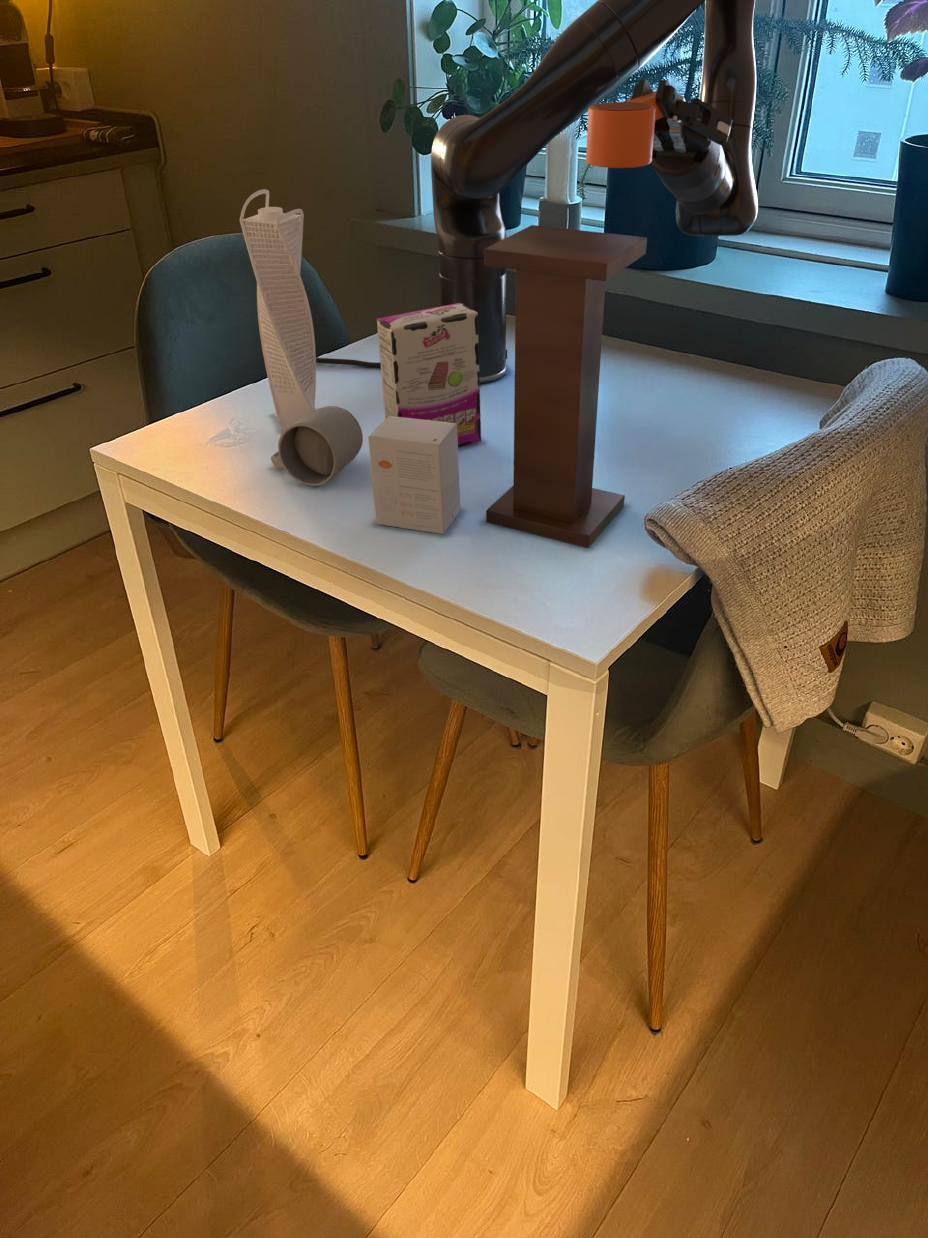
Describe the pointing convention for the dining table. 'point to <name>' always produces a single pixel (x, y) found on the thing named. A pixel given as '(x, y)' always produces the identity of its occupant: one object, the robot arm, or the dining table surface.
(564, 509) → the tall walnut stand
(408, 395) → the candy bar box
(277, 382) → the skyscraper
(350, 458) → the ceramic mug
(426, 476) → the small box
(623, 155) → the orange measuring cup
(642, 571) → the dining table surface
